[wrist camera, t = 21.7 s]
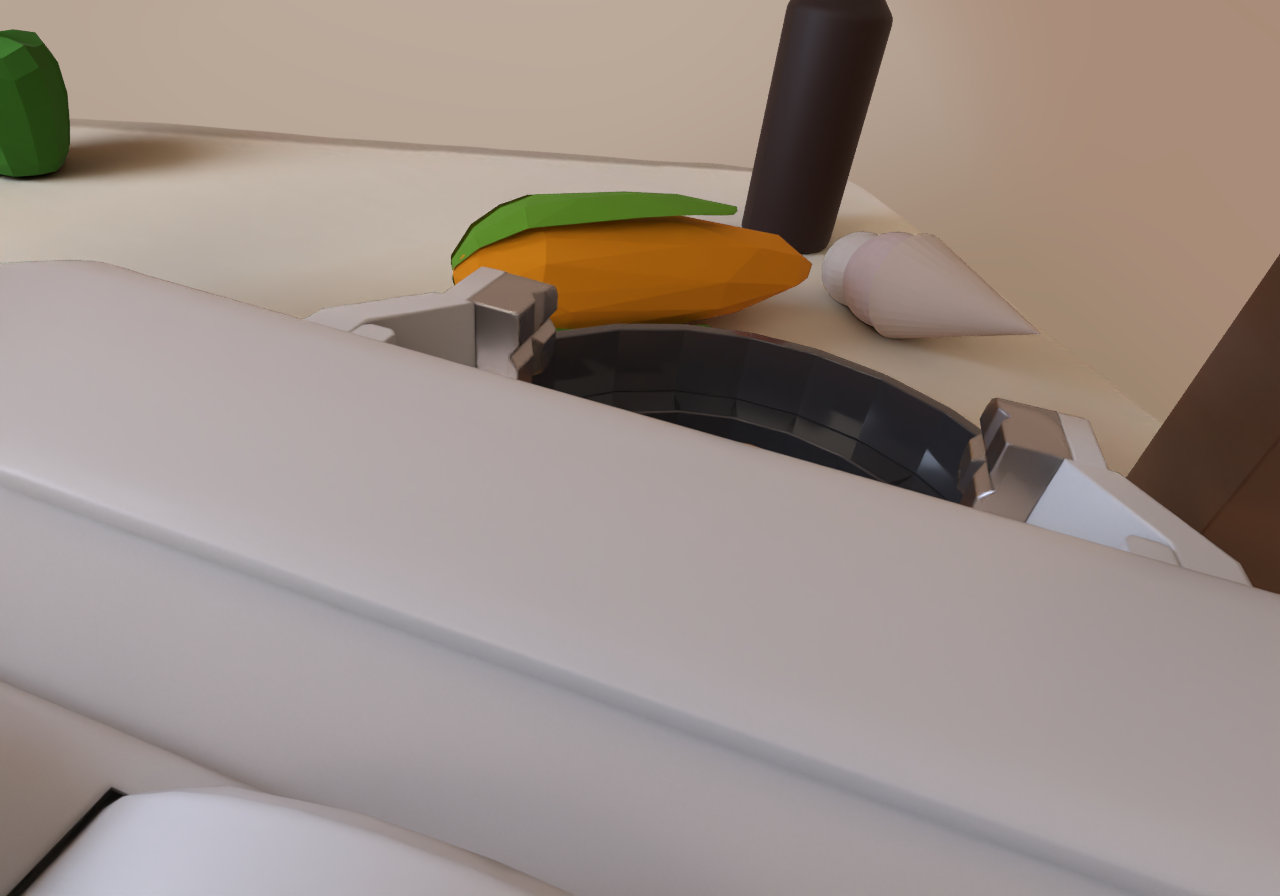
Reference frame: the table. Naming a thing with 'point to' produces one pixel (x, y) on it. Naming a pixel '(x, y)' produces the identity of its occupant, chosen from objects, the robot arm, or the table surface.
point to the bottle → (815, 117)
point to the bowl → (767, 399)
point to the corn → (630, 257)
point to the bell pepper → (31, 107)
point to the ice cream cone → (915, 288)
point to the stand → (1228, 443)
